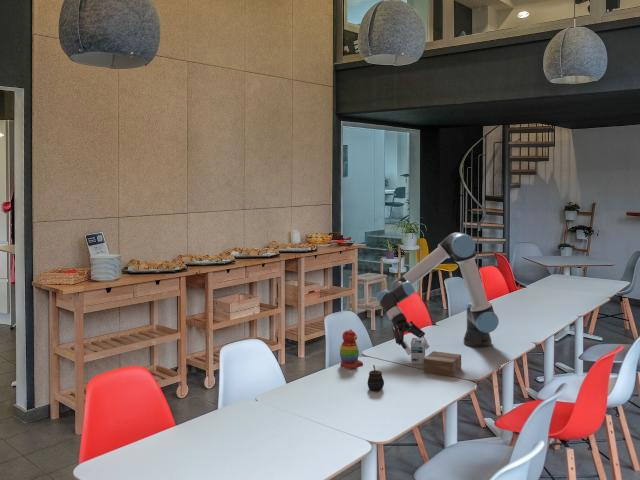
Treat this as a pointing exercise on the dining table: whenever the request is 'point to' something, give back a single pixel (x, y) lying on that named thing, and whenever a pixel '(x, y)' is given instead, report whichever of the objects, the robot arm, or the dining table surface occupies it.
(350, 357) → the stacking bear
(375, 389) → the mate gourd
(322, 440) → the dining table surface
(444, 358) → the walnut block
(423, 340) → the light bulb box
